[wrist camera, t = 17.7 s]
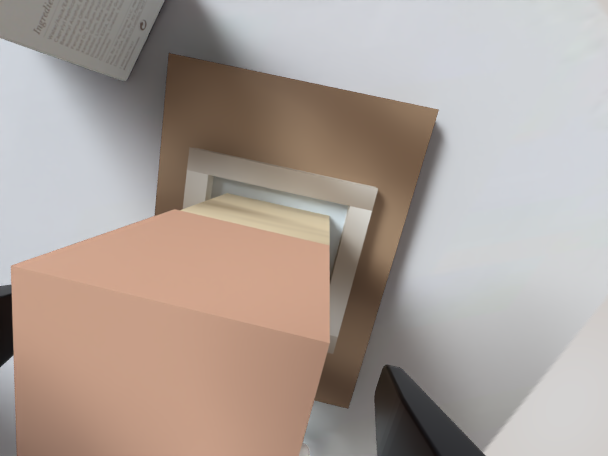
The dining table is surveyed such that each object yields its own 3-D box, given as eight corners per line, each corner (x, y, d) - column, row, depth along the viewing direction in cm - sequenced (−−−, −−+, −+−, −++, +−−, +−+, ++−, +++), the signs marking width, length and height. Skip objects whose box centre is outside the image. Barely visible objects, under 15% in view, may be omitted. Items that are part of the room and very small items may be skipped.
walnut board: (347, 392, 18) (349, 421, 16) (154, 345, 18) (133, 368, 16) (429, 113, 14) (445, 106, 12) (181, 61, 14) (158, 46, 12)
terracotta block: (296, 377, 11) (268, 567, 6) (159, 344, 11) (18, 501, 6) (329, 245, 9) (329, 343, 4) (174, 209, 9) (11, 265, 5)
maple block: (307, 308, 15) (297, 379, 11) (213, 287, 16) (161, 346, 11) (329, 215, 14) (329, 246, 9) (227, 193, 14) (174, 212, 9)
